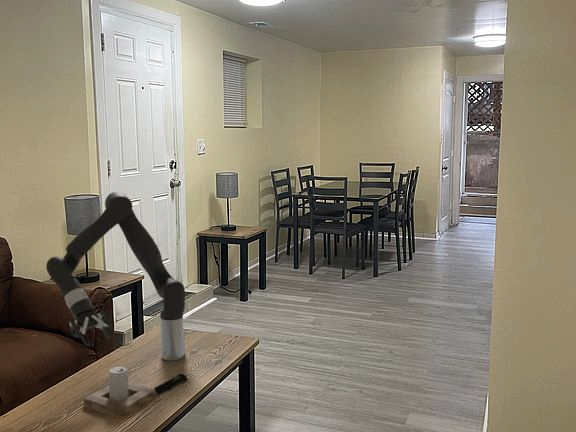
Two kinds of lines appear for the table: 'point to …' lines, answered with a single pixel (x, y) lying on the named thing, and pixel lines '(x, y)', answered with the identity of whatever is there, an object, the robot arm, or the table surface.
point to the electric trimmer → (170, 383)
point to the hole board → (119, 409)
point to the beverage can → (118, 384)
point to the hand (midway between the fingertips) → (99, 341)
